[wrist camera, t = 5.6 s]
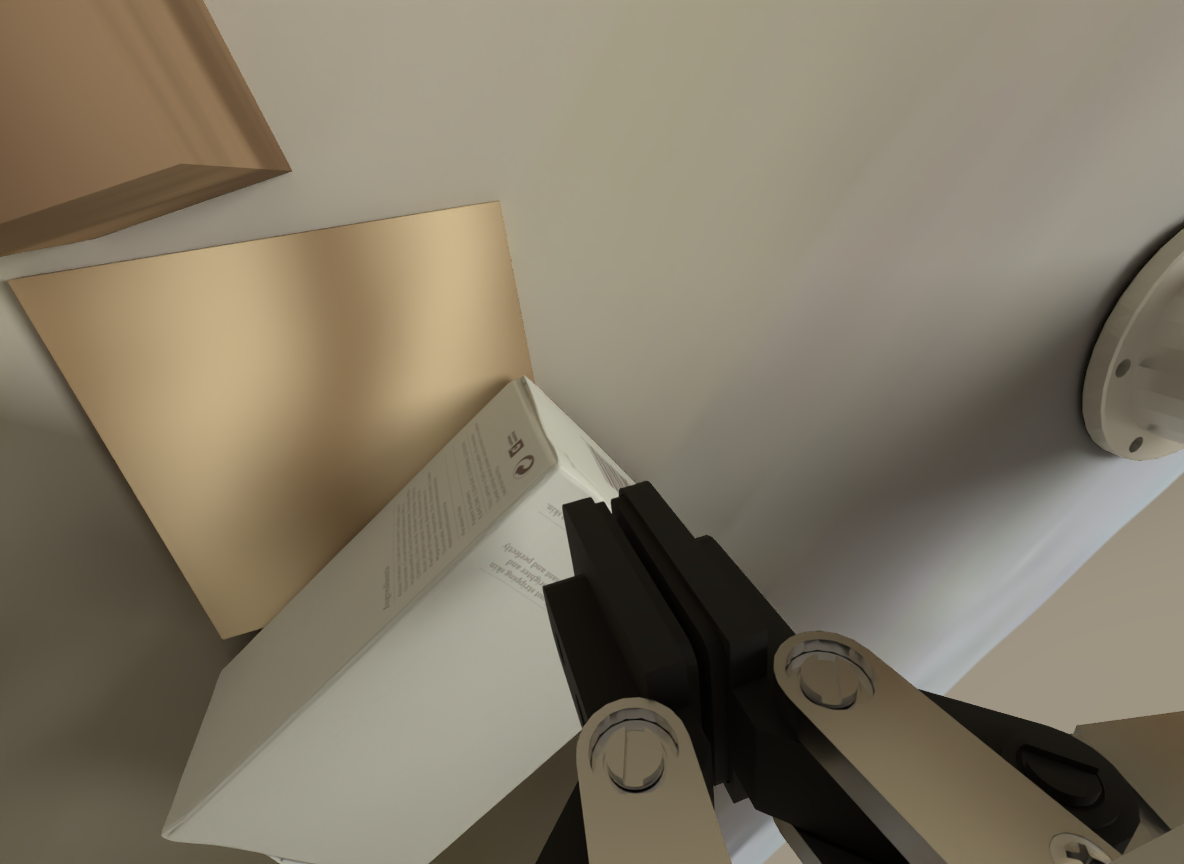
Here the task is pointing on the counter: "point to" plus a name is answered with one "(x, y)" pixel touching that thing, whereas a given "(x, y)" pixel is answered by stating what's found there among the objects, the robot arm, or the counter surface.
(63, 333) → the brass plate
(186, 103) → the walnut block
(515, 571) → the skincare box
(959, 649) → the counter surface
